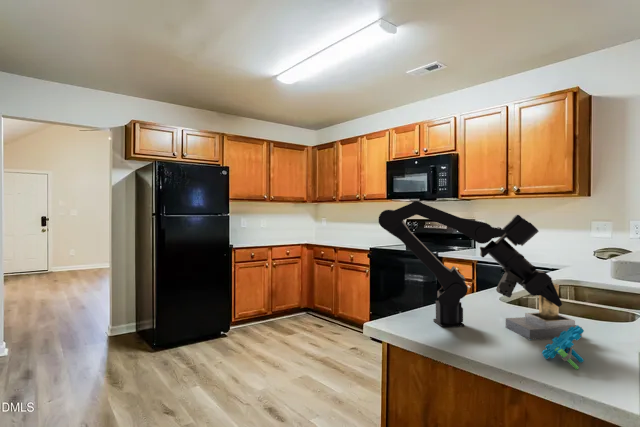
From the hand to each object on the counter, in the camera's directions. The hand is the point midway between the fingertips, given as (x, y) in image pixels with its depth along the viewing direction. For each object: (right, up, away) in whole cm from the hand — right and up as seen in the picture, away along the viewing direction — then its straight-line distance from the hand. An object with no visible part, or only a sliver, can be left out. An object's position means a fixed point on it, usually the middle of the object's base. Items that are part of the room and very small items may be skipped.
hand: (555, 301), depth 99 cm
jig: (-3, -8, 0) cm, 9 cm away
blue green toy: (-10, -9, -18) cm, 22 cm away
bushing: (-1, -8, +1) cm, 8 cm away
